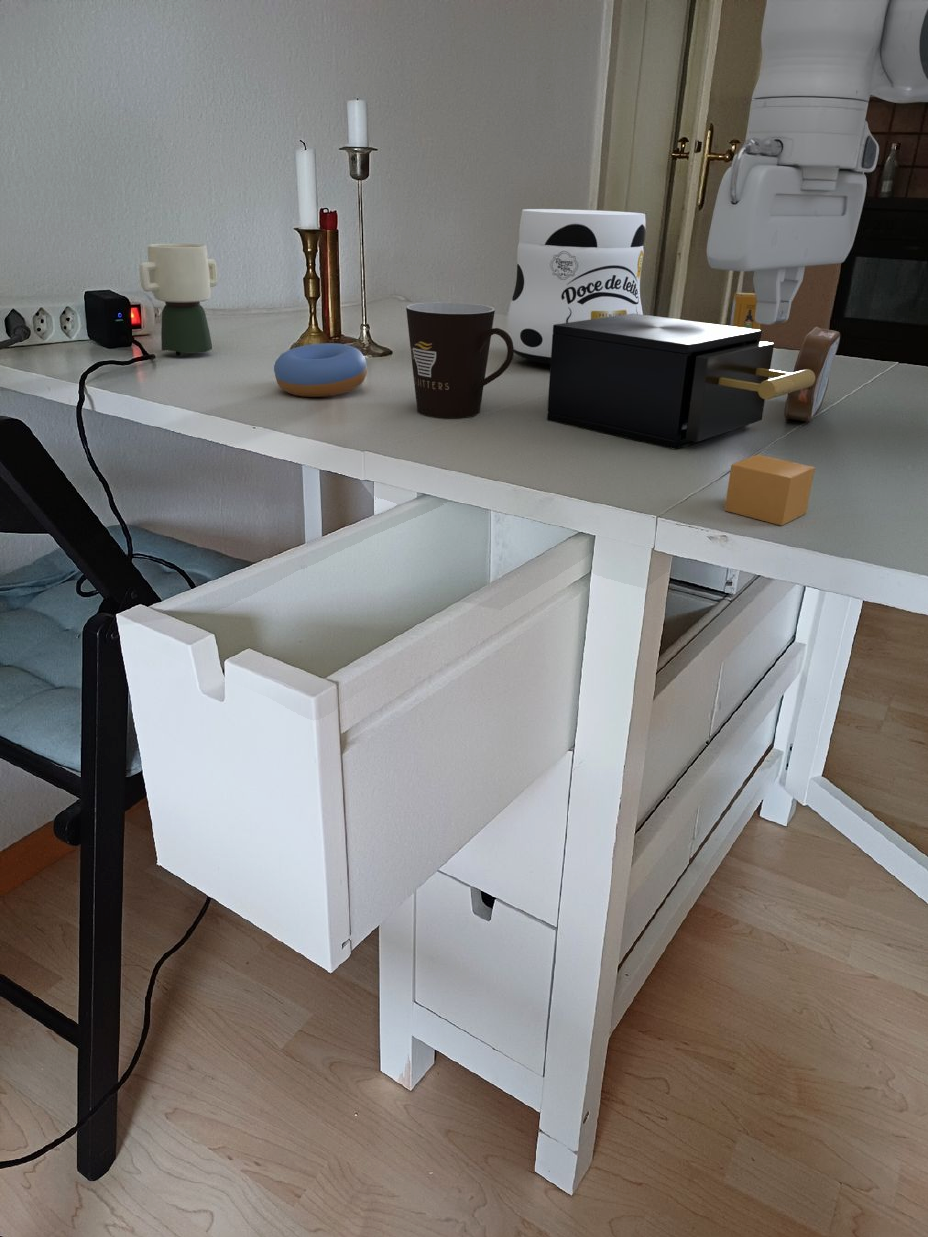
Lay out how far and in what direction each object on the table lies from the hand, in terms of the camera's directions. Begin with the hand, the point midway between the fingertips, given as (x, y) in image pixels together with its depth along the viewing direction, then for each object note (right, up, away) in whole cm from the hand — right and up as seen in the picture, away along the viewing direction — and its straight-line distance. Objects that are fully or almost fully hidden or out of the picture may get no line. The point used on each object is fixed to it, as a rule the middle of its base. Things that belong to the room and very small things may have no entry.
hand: (770, 322), depth 80 cm
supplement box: (+7, +4, +33) cm, 34 cm away
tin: (+9, -4, +17) cm, 20 cm away
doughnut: (-42, -1, +21) cm, 47 cm away
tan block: (-5, -18, -12) cm, 22 cm away
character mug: (-62, +8, +39) cm, 73 cm away
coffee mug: (-28, -5, +13) cm, 31 cm away
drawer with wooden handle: (-5, -7, +8) cm, 12 cm away
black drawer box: (-8, -6, +12) cm, 16 cm away
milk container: (-13, +8, +41) cm, 43 cm away
